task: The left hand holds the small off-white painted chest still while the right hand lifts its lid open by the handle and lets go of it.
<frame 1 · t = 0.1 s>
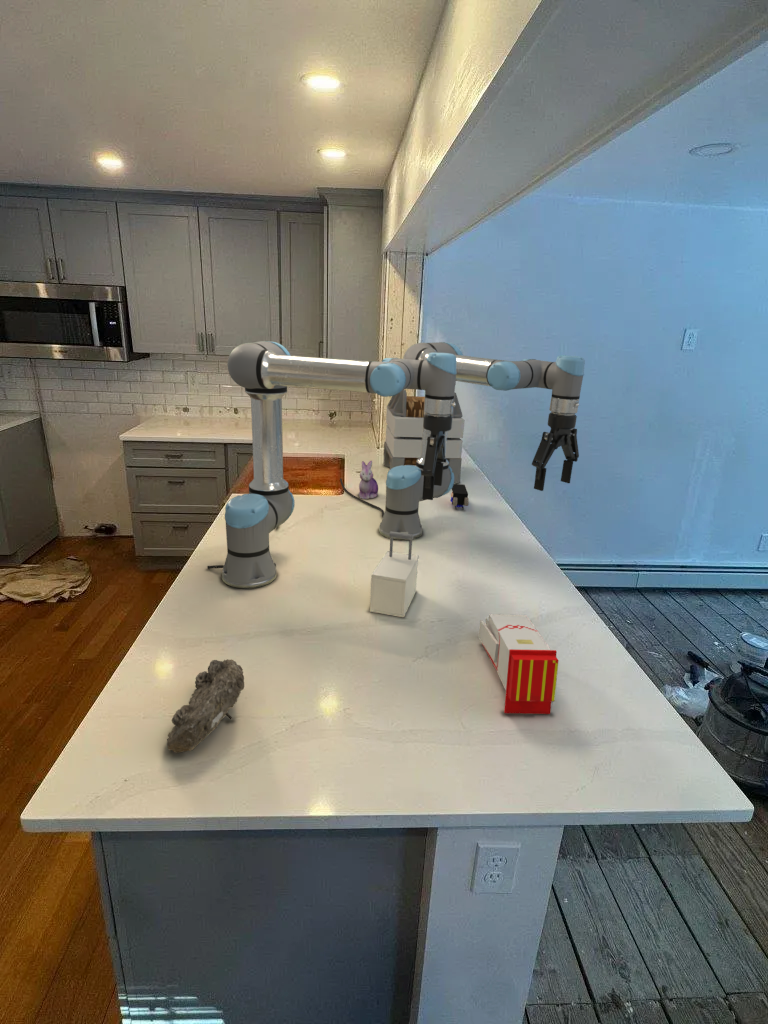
left hand: (432, 491, 155), 28 cm above the counter, tool pointing down, fingers open, 13 cm apart
right hand: (552, 485, 166), 28 cm above the counter, tool pointing down, fingers open, 13 cm apart
lid: (396, 553, 150), point 14 cm above the counter, hinge at 0.0°
fossil: (212, 717, 108), on the counter
figurine character: (458, 506, 231), on the counter
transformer: (419, 473, 275), on the counter
figurine: (368, 496, 238), on the counter
toy: (510, 673, 125), on the counter
feather: (283, 517, 211), on the counter
chest: (393, 601, 154), on the counter
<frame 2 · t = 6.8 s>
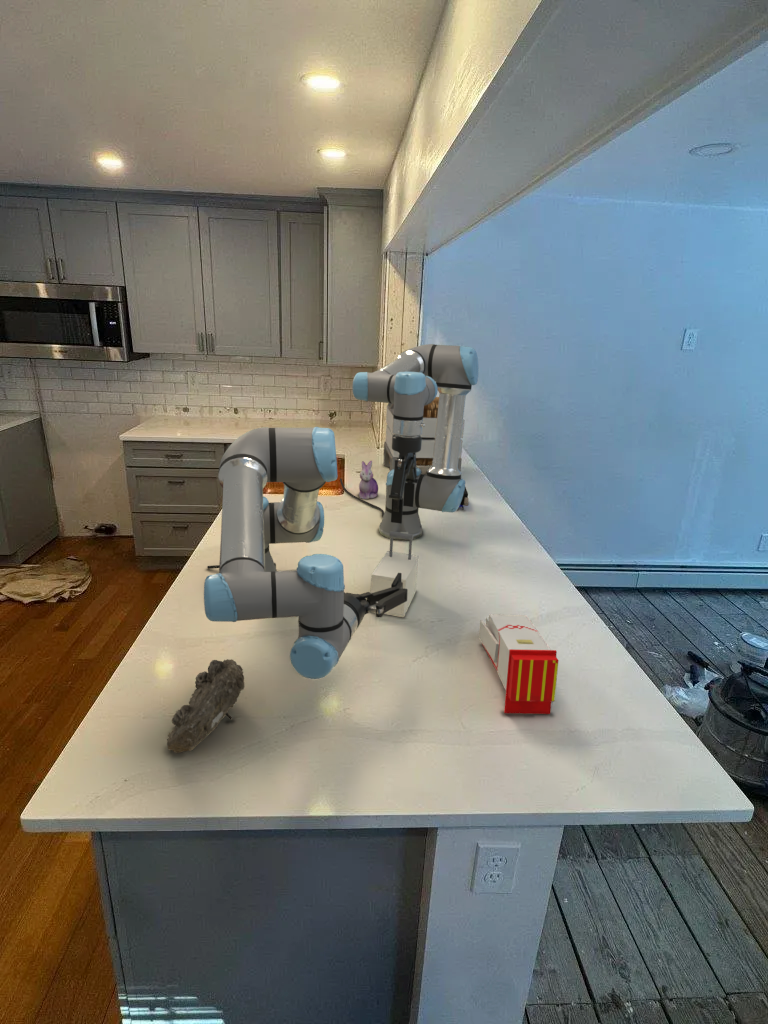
left hand: (369, 574, 125), 19 cm above the counter, tool horizontal, fingers open, 13 cm apart
right hand: (402, 514, 150), 24 cm above the counter, tool pointing down, fingers open, 13 cm apart
nothing on the counter moved.
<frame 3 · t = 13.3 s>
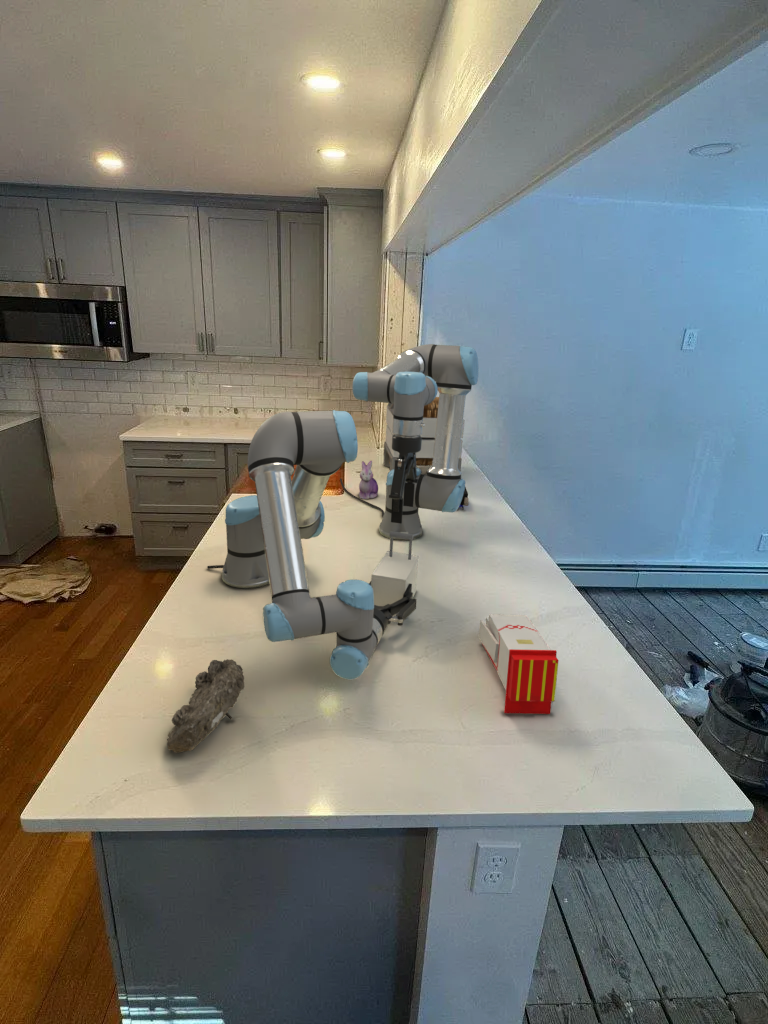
left hand: (391, 585, 149), 6 cm above the counter, tool horizontal, fingers closed on chest, 9 cm apart
right hand: (402, 514, 150), 24 cm above the counter, tool pointing down, fingers open, 13 cm apart
chest: (393, 601, 154), on the counter, touching left hand
everything else where it was.
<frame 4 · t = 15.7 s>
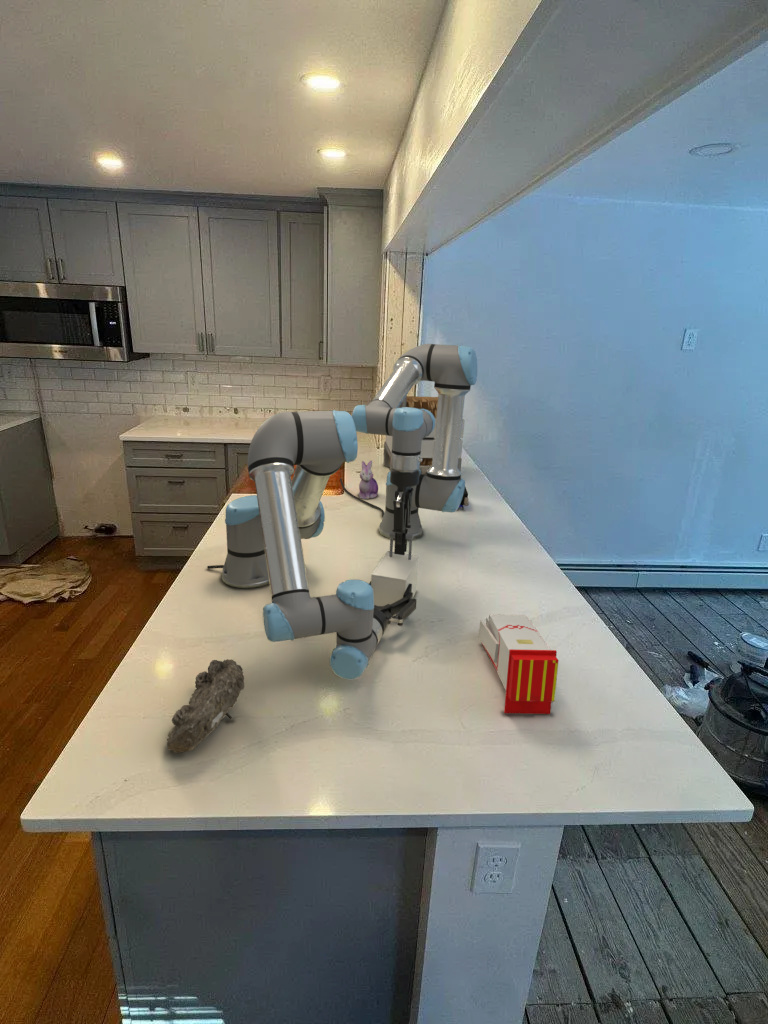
left hand: (392, 585, 149), 6 cm above the counter, tool horizontal, fingers closed on chest, 9 cm apart
right hand: (400, 552, 154), 12 cm above the counter, tool pointing down, fingers closed on lid, 1 cm apart
lid: (396, 553, 150), point 14 cm above the counter, hinge at -0.1°, touching right hand
chest: (393, 601, 154), on the counter, touching left hand
everything else where it was.
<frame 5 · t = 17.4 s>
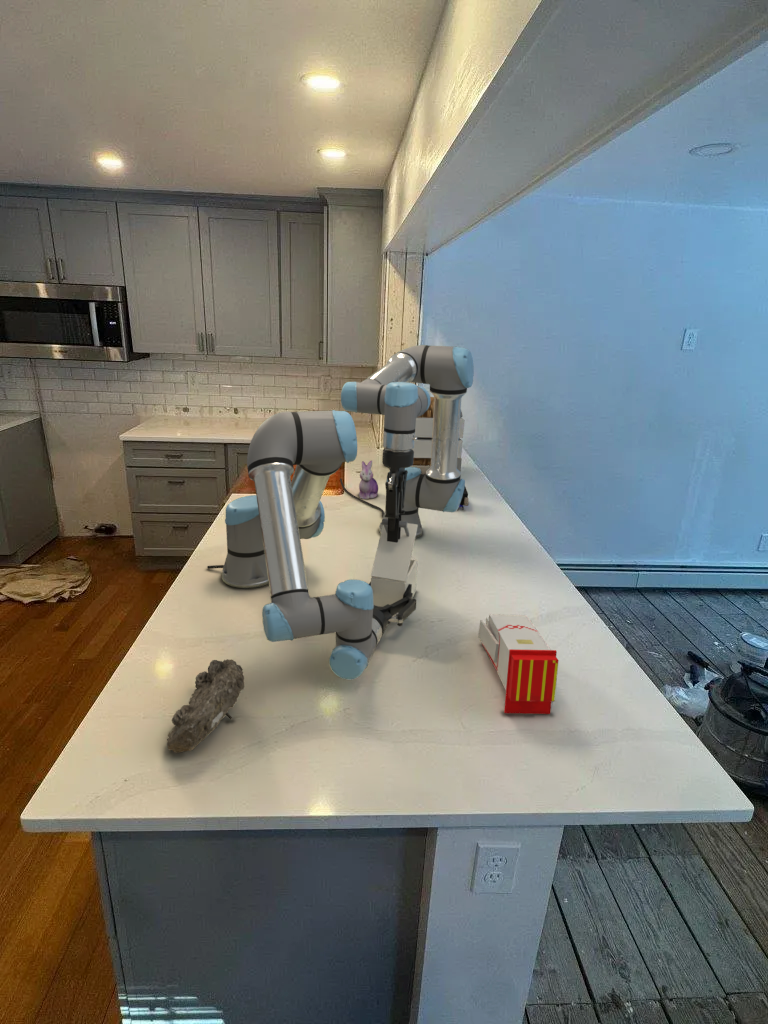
left hand: (391, 585, 149), 6 cm above the counter, tool horizontal, fingers closed on chest, 9 cm apart
right hand: (393, 539, 144), 20 cm above the counter, tool pointing down, fingers closed on lid, 2 cm apart
lid: (392, 544, 143), point 19 cm above the counter, hinge at 44.3°, touching right hand
chest: (393, 601, 154), on the counter, touching left hand
everything else where it was.
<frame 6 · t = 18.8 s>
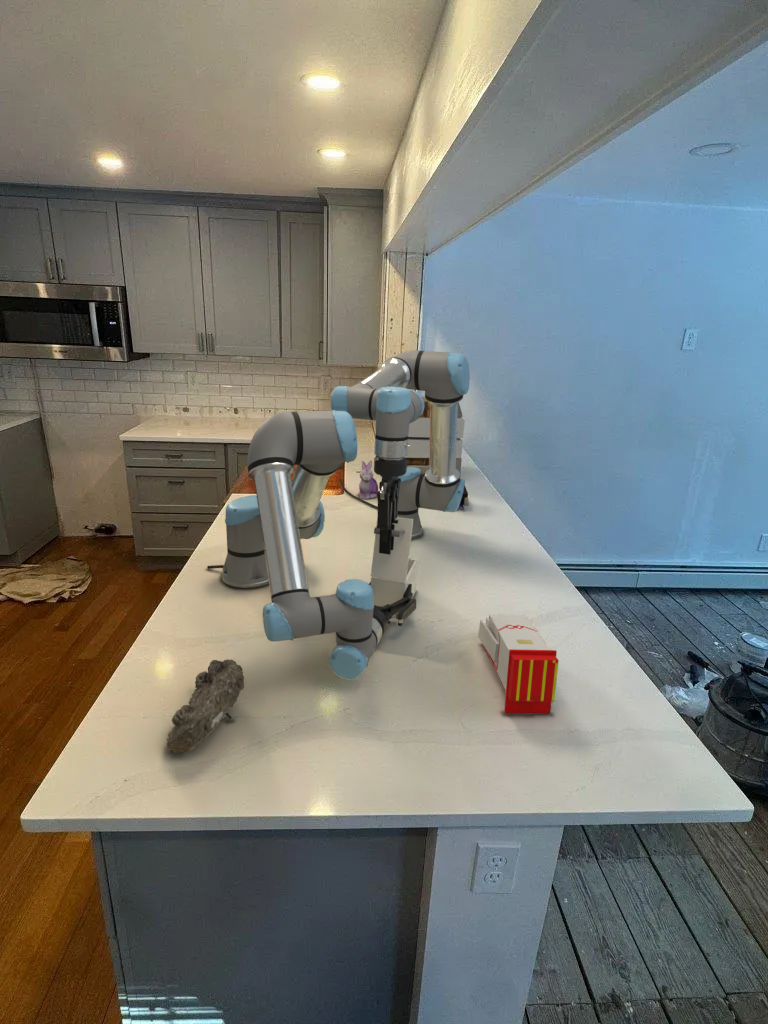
left hand: (391, 585, 149), 6 cm above the counter, tool horizontal, fingers closed on chest, 9 cm apart
right hand: (386, 550, 137), 19 cm above the counter, tool pointing down, fingers open, 2 cm apart
lid: (388, 549, 139), point 19 cm above the counter, hinge at 72.9°
chest: (393, 600, 154), on the counter, touching left hand
everything else where it was.
when the left hand's fingers open (6 cm above the counter, at t = 22.7 s): chest stays where it is, on the counter.
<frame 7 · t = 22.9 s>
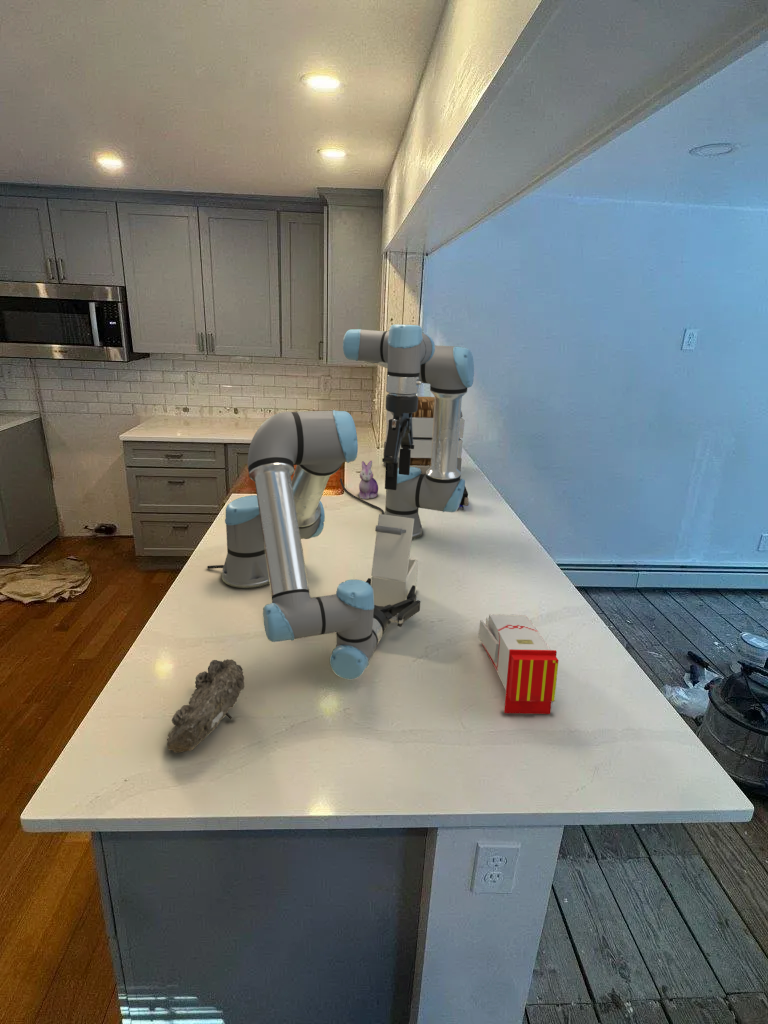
left hand: (391, 586, 148), 6 cm above the counter, tool horizontal, fingers open, 11 cm apart
right hand: (397, 481, 139), 35 cm above the counter, tool pointing down, fingers open, 13 cm apart
lid: (389, 548, 140), point 19 cm above the counter, hinge at 70.8°
chest: (393, 601, 154), on the counter
everything else where it was.
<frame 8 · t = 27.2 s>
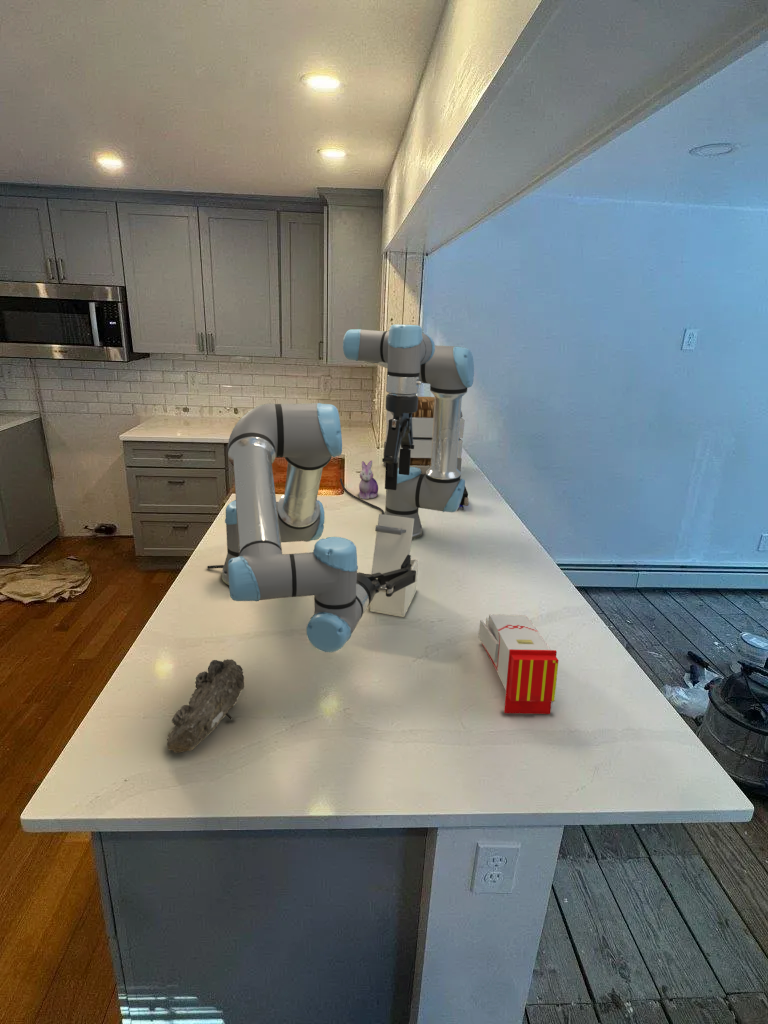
left hand: (380, 555, 132), 20 cm above the counter, tool horizontal, fingers open, 13 cm apart
right hand: (397, 481, 139), 35 cm above the counter, tool pointing down, fingers open, 13 cm apart
nothing on the counter moved.
at the end: lid at +71° (first picture: +0°); the left hand is holding nothing; the right hand is holding nothing; chest tilted 0°; chest never tilted more than 2° during the clip; chest moved 0.1 cm from its start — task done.
